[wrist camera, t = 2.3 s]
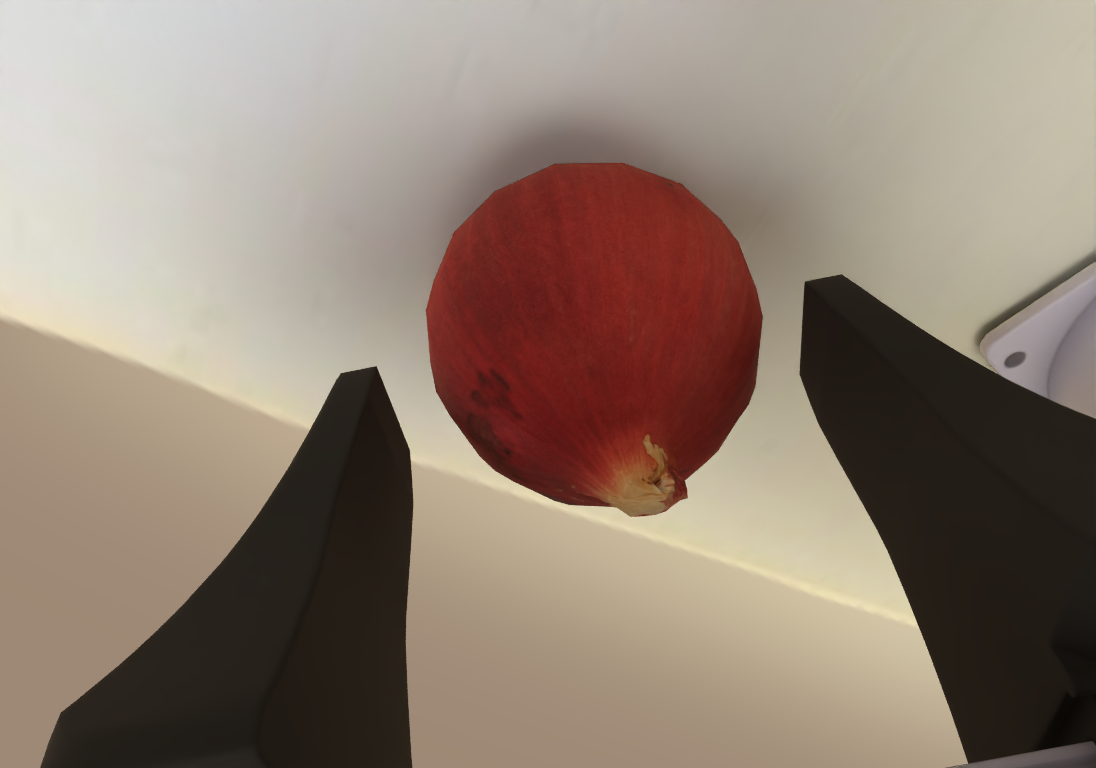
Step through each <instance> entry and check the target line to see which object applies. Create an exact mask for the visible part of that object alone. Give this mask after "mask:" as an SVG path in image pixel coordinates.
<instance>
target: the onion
mask: <svg viewBox="0 0 1096 768" xmlns="http://www.w3.org/2000/svg"><path fill="white" fill-rule="evenodd" d="M426 316H427V328H428V340H429V352H430V363H431V368H432V373H433V378H434V383H435V388H436V392H437V394H438V396H439V397H440V399H441V401H442V403H443V404H444V406H445V408H446V410H447V411H448V413H449V415H450V416H451V418H452V419H453V420H454V422H455V423H456V424H457V426H458V427H459V429H460V430H461V431H462V433H463V434H464V435H465V437H466V438H467V440H468V441H469V442H470V444H471V445H472V446H473V448H474V449H475V451H476V452H477V453H478V455H479V456H480V457H481V458H482V459H483V460H484V461H485V462H486V463H487V464H489V465H490V466H491V467H492V468H493V469H494V470H495V471H496V472H498V473H500V474H502V475H503V476H505V477H507V478H508V479H510V480H512V481H514V482H516V483H518V484H520V485H522V486H524V487H526V488H529V489H531V490H533V491H535V492H537V493H539V494H541V495H543V496H546V497H548V498H550V499H552V500H554V501H557V502H561V503H565V504H568V505H582V506H605V507H616V508H618V509H620V510H621V511H623V512H624V513H626V514H627V515H629V516H630V517H637V516H649V515H656V514H659V513H662V512H665V511H667V510H668V509H669V508H670V507H671V506H673V505H674V504H675V503H677V502H678V501H680V500H682V499H686V498H688V497H687V487H686V484H685V480H686V479H687V478H688V477H690V476H691V475H692V474H693V473H694V472H695V471H697V470H698V469H699V468H700V467H701V466H702V465H704V464H705V463H706V462H707V461H708V460H709V459H710V458H711V457H712V456H713V455H714V454H715V453H716V452H717V451H718V450H719V448H720V447H721V445H722V444H723V442H724V441H725V439H726V437H727V436H728V434H729V433H730V431H731V430H732V428H733V426H734V425H735V423H736V422H737V420H738V419H739V417H740V416H741V415H742V413H743V412H744V410H745V409H746V408H747V406H748V405H749V402H750V400H751V397H752V394H753V391H754V389H755V386H756V377H757V367H758V358H759V348H760V339H761V329H762V320H763V315H762V311H761V306H760V302H759V298H758V293H757V289H756V286H755V284H754V281H753V279H752V276H751V273H750V271H749V268H748V266H747V263H746V261H745V258H744V255H743V253H742V250H741V248H740V245H739V243H738V241H737V240H736V238H735V237H734V236H733V235H732V233H731V232H730V231H729V229H728V228H727V227H726V226H725V224H724V223H723V222H722V220H721V219H720V218H719V217H717V216H716V215H715V214H714V213H713V212H712V211H711V210H710V209H709V208H707V207H706V206H705V205H704V204H703V203H702V202H701V201H700V200H699V199H697V198H696V197H695V196H694V195H693V194H692V193H691V192H690V191H689V190H687V189H686V188H685V187H684V186H683V185H682V184H680V183H677V182H675V181H672V180H669V179H666V178H664V177H661V176H658V175H655V174H653V173H650V172H647V171H644V170H642V169H639V168H636V167H633V166H631V165H628V164H625V163H572V164H553V165H551V166H549V167H547V168H545V169H543V170H540V171H538V172H536V173H534V174H532V175H529V176H527V177H525V178H523V179H521V180H519V181H516V182H514V183H512V184H509V185H507V186H505V187H503V188H501V189H499V190H497V191H495V192H494V193H493V194H492V195H491V196H490V197H489V198H488V199H487V200H486V201H485V202H484V203H483V204H482V205H481V206H480V207H479V208H478V209H477V210H476V211H475V212H474V213H473V214H472V215H471V216H470V217H469V218H468V219H467V220H466V221H465V222H464V223H463V224H462V225H461V226H460V227H459V228H458V229H457V230H456V231H455V232H454V234H453V236H452V238H451V241H450V243H449V246H448V248H447V250H446V253H445V255H444V257H443V260H442V262H441V264H440V267H439V269H438V272H437V274H436V276H435V279H434V281H433V285H432V289H431V293H430V297H429V301H428V304H427V308H426Z"/></svg>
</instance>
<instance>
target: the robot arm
mask: <svg viewBox="0 0 1096 768" xmlns="http://www.w3.org/2000/svg"><path fill="white" fill-rule="evenodd" d="M980 351H981V353H982V354H983V356H984V357H985V358H986V360H987V361H988V362H989V363H990V364H991V365H992V367H993V368H994V369H995V370H996V371H997V372H998V373H999V375H998V374H996V373H995V372H993V371H991V370H989V369H987V368H986V367H984V366H982V365H980V364H979V363H977V362H975V361H973V360H971V359H970V358H968V357H966V356H964V355H963V354H961V353H959V352H958V351H956V350H954V349H953V348H951V347H949V346H948V345H946V344H944V343H943V342H941V341H940V340H938V339H936V338H935V337H933V336H932V335H930V334H928V333H927V332H925V331H924V330H922V329H921V328H919V327H918V326H916V325H915V324H913V323H912V322H910V321H909V320H907V319H906V318H904V317H903V316H901V315H900V314H898V313H897V312H895V311H894V310H892V309H891V308H890V307H888V306H887V305H885V304H884V303H882V302H881V301H879V300H878V299H877V298H875V297H874V296H872V295H871V294H869V293H868V292H867V291H865V290H864V289H862V288H861V287H859V286H858V285H857V284H855V283H854V282H852V281H851V280H849V279H848V278H846V277H845V276H843V275H842V274H841V275H836V276H831V277H826V278H821V279H816V280H811V281H806V282H805V284H804V302H803V320H802V339H801V357H800V377H801V380H802V382H803V385H804V388H805V390H806V393H807V396H808V398H809V401H810V404H811V406H812V409H813V411H814V414H815V416H816V419H817V421H818V424H819V426H820V428H821V429H822V431H823V433H824V435H825V437H826V439H827V441H828V442H829V444H830V446H831V448H832V450H833V452H834V453H835V455H836V457H837V459H838V461H839V462H840V464H841V466H842V468H843V470H844V471H845V473H846V475H847V477H848V479H849V480H850V482H851V484H852V486H853V487H854V489H855V491H856V493H857V495H858V496H859V498H860V500H861V502H862V504H863V505H864V507H865V509H866V511H867V512H868V514H869V516H870V518H871V520H872V521H873V523H874V525H875V527H876V529H877V531H878V533H879V535H880V537H881V539H882V541H883V543H884V545H885V547H886V549H887V551H888V553H889V555H890V558H891V560H892V562H893V565H894V567H895V570H896V572H897V574H898V577H899V579H900V581H901V584H902V586H903V589H904V591H905V593H906V596H907V598H908V601H909V603H910V606H911V608H912V611H913V613H914V616H915V618H916V621H917V623H918V626H919V628H920V631H921V633H922V636H923V638H924V640H925V643H926V646H927V649H928V651H929V654H930V656H931V659H932V662H933V665H934V667H935V670H936V673H937V675H938V678H939V681H940V684H941V686H942V689H943V692H944V695H945V697H946V700H947V703H948V705H949V708H950V711H951V714H952V716H953V719H954V723H955V725H956V728H957V731H958V734H959V737H960V740H961V743H962V746H963V749H964V752H965V755H966V758H967V761H968V764H964V765H959V766H953V767H948V768H1096V261H1095V262H1094V263H1092V264H1091V265H1089V266H1088V267H1086V268H1085V269H1083V270H1082V271H1080V272H1079V273H1077V274H1075V275H1074V276H1072V277H1071V278H1069V279H1068V280H1066V281H1065V282H1063V283H1062V284H1060V285H1059V286H1057V287H1056V288H1054V289H1053V290H1051V291H1050V292H1048V293H1047V294H1045V295H1044V296H1042V297H1041V298H1039V299H1038V300H1036V301H1035V302H1033V303H1032V304H1030V305H1029V306H1027V307H1026V308H1024V309H1023V310H1021V311H1020V312H1018V313H1017V314H1015V315H1014V316H1012V317H1011V318H1009V319H1008V320H1006V321H1005V322H1003V323H1002V324H1000V325H999V326H997V327H996V328H994V329H993V330H991V331H990V332H989V333H988V334H987V335H985V337H984V338H983V340H982V341H981V343H980ZM1011 354H1012V355H1011ZM1010 355H1011V356H1010ZM412 490H413V488H412V473H411V460H410V450H409V447H408V444H407V442H406V439H405V437H404V434H403V432H402V429H401V427H400V424H399V422H398V419H397V417H396V414H395V412H394V409H393V407H392V404H391V401H390V399H389V396H388V394H387V391H386V389H385V386H384V384H383V381H382V379H381V376H380V374H379V371H378V369H377V366H375V367H370V368H365V369H360V370H355V371H350V372H345V373H341V374H340V376H339V377H338V378H337V380H336V382H335V384H334V386H333V387H332V389H331V391H330V393H329V395H328V397H327V399H326V401H325V403H324V405H323V407H322V409H321V411H320V412H319V414H318V416H317V418H316V420H315V422H314V424H313V425H312V427H311V429H310V431H309V433H308V435H307V437H306V438H305V440H304V442H303V443H302V445H301V447H300V449H299V450H298V452H297V454H296V456H295V457H294V459H293V461H292V463H291V464H290V466H289V468H288V470H287V471H286V473H285V474H284V476H283V477H282V479H281V480H280V482H279V483H278V485H277V487H276V488H275V490H274V491H273V493H272V494H271V496H270V497H269V499H268V501H267V502H266V503H265V505H264V507H263V508H262V510H261V511H260V513H259V514H258V515H257V517H256V518H255V520H254V521H253V522H252V524H251V525H250V527H249V528H248V529H247V531H246V532H245V533H244V535H243V536H242V537H241V539H240V540H239V541H238V543H237V544H236V545H235V546H234V548H233V549H232V550H231V551H230V553H229V554H228V555H227V556H226V558H225V559H224V560H223V561H222V562H221V564H220V565H219V566H218V567H217V568H216V569H215V570H214V571H213V572H212V574H211V575H210V576H209V577H208V578H207V579H206V580H205V581H204V582H203V583H202V585H201V586H200V587H199V588H198V589H197V590H196V591H195V592H194V593H193V594H192V596H191V597H190V598H189V599H188V600H187V601H186V602H185V604H183V606H181V607H180V608H179V609H178V611H177V612H176V613H175V614H174V615H172V616H171V617H170V619H168V621H166V623H164V624H163V625H162V626H161V627H160V628H159V629H158V630H157V631H156V632H155V633H154V634H153V635H152V636H151V637H150V638H149V639H148V640H146V641H145V642H144V643H143V644H142V645H141V646H140V647H139V648H138V649H137V650H136V651H135V652H134V653H132V654H131V655H130V656H129V657H128V658H127V659H126V660H125V661H123V662H122V663H121V664H120V665H119V666H118V667H116V668H115V669H114V670H113V671H112V672H110V673H109V674H108V675H107V676H105V677H104V678H103V679H102V680H101V681H100V682H98V683H97V684H96V685H95V686H93V687H92V688H91V689H90V690H89V691H87V692H86V693H85V694H84V695H83V696H81V697H80V698H79V699H78V700H77V701H75V702H74V703H73V704H71V705H70V706H69V707H68V708H66V709H65V710H64V711H63V712H61V714H60V716H59V719H58V721H57V723H56V726H55V728H54V731H53V733H52V736H51V738H50V741H49V743H48V746H47V749H46V752H45V756H44V758H43V761H42V764H41V768H412V759H411V743H410V727H409V709H408V690H407V667H406V666H407V665H406V611H407V596H408V580H409V566H410V551H411V536H412V518H413V491H412Z"/></svg>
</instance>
